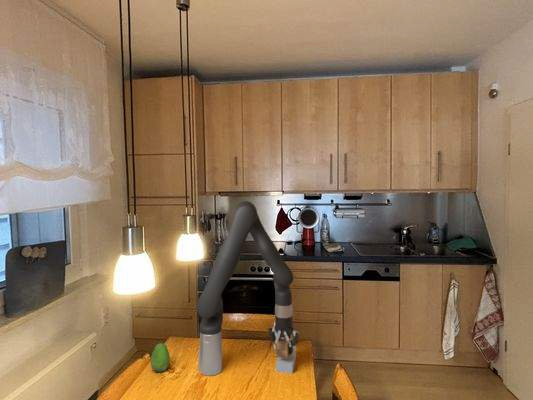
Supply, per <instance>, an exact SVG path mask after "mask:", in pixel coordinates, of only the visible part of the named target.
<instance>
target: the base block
mask: <svg viewBox="0 0 533 400" xmlns="http://www.w3.org/2000/svg"><path fill="white" fill-rule="evenodd" d="M295 366H296V359H295V357H294V356H289V358H288V359H285V358H281V357H277V359H276V362H275V371H276V373H284V374H285V373H286V374H293V372H294V370H295Z"/></svg>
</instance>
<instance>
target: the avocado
mask: <svg viewBox="0 0 533 400" xmlns="http://www.w3.org/2000/svg"><path fill="white" fill-rule="evenodd" d="M170 359H171V356H170V352H169V350H168V347H167V345H166V344H165V343H163V342H159V343H157V344H156V345H155V347H154V349H153V351H152V354H151V357H150V366H151V369H152V370H153V371H155V372H156V373H161V372H163V371H165V370H167V368H168V366H169V364H170Z"/></svg>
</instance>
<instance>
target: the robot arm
mask: <svg viewBox="0 0 533 400" xmlns="http://www.w3.org/2000/svg"><path fill="white" fill-rule="evenodd" d="M233 214H234V215H233V218H232V223H231V226H230V229H229V232H228V234H227V236H226V237H225V239H224V240H223V243H222V244H221V246H220V248H219V250H218V252H217V254H216V257H215V259H214V262H213V265H212V269H211V271H210V274H209V276H208V279H207V282H206V285H205V287H204V289H203V290H202V293H201V294H200V297H198V298H199V299H198V300H197V301H196V306H195V308H196V312H197V314H198V316H199V317H200V318H201V320H200V324H199V348H198V350H197V354H198V355H197V359H198V361H197V362H198V372H200V373H201V374H202V375H204V376H208V377H209V376H215V375H219V374H220V373H221V372H222V371H223V342H222V341H223V337H222V335H223V334H222V331H223V330H222V328H223V327H222V325H223V322H224V320H223V319H224V304H223V303H224V301H223V298H222V295H223V292H224V289H225V288H226V286H227V284H229V281H230V280H231V278H232V277H233V275H234V273H235V271H236V269H237V267H238V264H239V261H240V258H241V257H242V253H243V250H244V247H245V243H246V240H247V237H248V236H249V234H250V236H251V237H252V239H253V241H254V243H255V246H256V248H257V249H258V252H259V254H260V255H261V257H262V259H263V261H264V262H265V264H266V265H267V266H268V267H269V268H270V270H271V271H272V273H273V276H272V277H273V286H274V290H275V294H274V295H275V298H274V301H275V306H274V322H275V327H274V325H273V326H272V325H271V326H270V327H269V328H268V333H269V338H270V341H271V342H272V343H274V342H275V349H274V351H276V343H277V342H278V341H279V340H280V339H281V338H285V339H286V341H287V342H288V345H289V355H291V354H292V353H293V346H295V345H296V346H297V344H298V341H299V338H300V334H301V333H300V330H295V329H294V327H293V324H294V323H293V322H294V321H293V317H294V313H293V311H294V309H293V299H292V298H293V294H292V291H291V289H290V286H291V284H292V283H293V282H294V274H293V272H292V270H291V268H290V266H288V264H287V263H286V261H285V260H284V259H283V257H282V255H281V253H280V252H279V250H278V247H276V245H275V244H274V242H273V240H272V239H271V237H270V236H269V234H268V232H267V231H266V228H264V226H263V224H262V221H261V220H260V217H259V214H258V210H257V208H256V206H255V204H254V203H252V202H250V201H248V200H244V201H240V202H239V203H238V204H237V205H236V207H235V209H234V213H233ZM274 331H276V333H277V337H275V332H274Z"/></svg>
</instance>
